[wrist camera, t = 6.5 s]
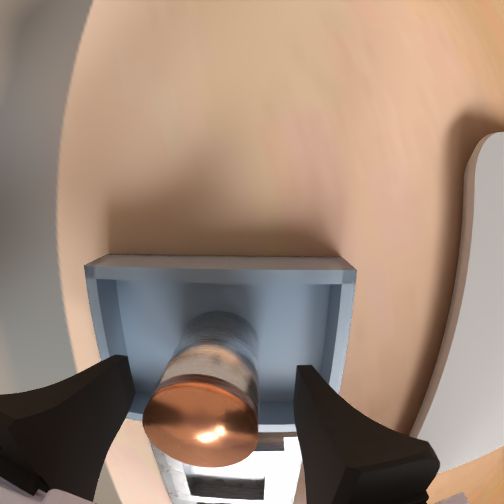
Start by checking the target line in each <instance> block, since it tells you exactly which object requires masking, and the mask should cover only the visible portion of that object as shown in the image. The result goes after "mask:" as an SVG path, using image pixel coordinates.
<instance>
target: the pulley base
mask: <svg viewBox="0 0 504 504" xmlns="http://www.w3.org/2000/svg"><path fill="white" fill-rule="evenodd" d="M149 440H150V439H149ZM150 443H151V447H152V450H153V453H154V456H155V459H156V462H157V465H158V467H159V470H160V473H161V476H162V478H163V481H164V484H165V486H166V489H167V491H168V494H169V497H170V499H171V501H172V504H293V501H294V497H295V493H296V488H297V483H298V479H299V474H300V469H301V464H302V455H301V450H300V445H299V441H298V436H297V431H296V432H258V444H257V446H256V449H255V450H254V452H253V453H252V454H251V455H250V456H249V457H248V458H246V459H245V460H243V461H241V462H239V463H237V464H234V465H231V466H227V467H220V468H205V467H197V466H193V465H189V464H186V463H183V462H180V461H178V460H175V459H173V458H171V457H170V456H168V455H166V454H165V453H163V452H162V451H161V450H159V449H158V448H157V447H156V446H155V445H154V444H153V443H152V442H151V440H150Z"/></svg>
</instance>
